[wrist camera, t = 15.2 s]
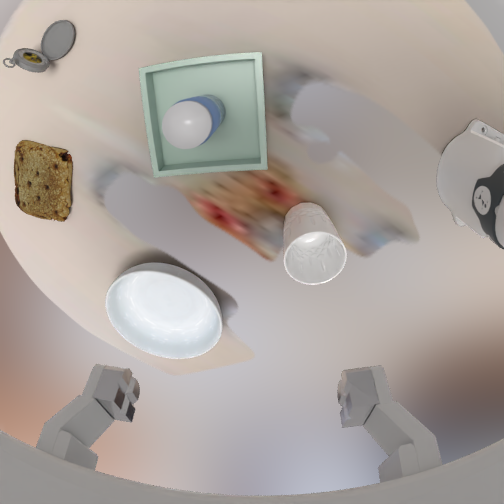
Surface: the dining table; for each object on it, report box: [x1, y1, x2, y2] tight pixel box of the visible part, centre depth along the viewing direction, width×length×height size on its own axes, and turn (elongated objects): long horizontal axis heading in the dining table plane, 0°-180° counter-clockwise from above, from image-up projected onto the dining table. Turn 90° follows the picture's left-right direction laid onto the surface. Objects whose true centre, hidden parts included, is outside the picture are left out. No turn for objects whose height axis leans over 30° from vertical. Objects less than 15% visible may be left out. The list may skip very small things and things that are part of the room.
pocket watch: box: [3, 20, 75, 72], centre depth 25 cm, size 8×8×10 cm
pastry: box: [14, 140, 73, 221], centre depth 40 cm, size 17×17×3 cm
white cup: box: [283, 202, 347, 285], centre depth 41 cm, size 8×8×10 cm
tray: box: [139, 52, 268, 178], centre depth 35 cm, size 15×15×4 cm
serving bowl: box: [105, 263, 223, 359], centre depth 51 cm, size 21×21×7 cm
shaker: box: [162, 94, 226, 149], centre depth 30 cm, size 5×5×12 cm
